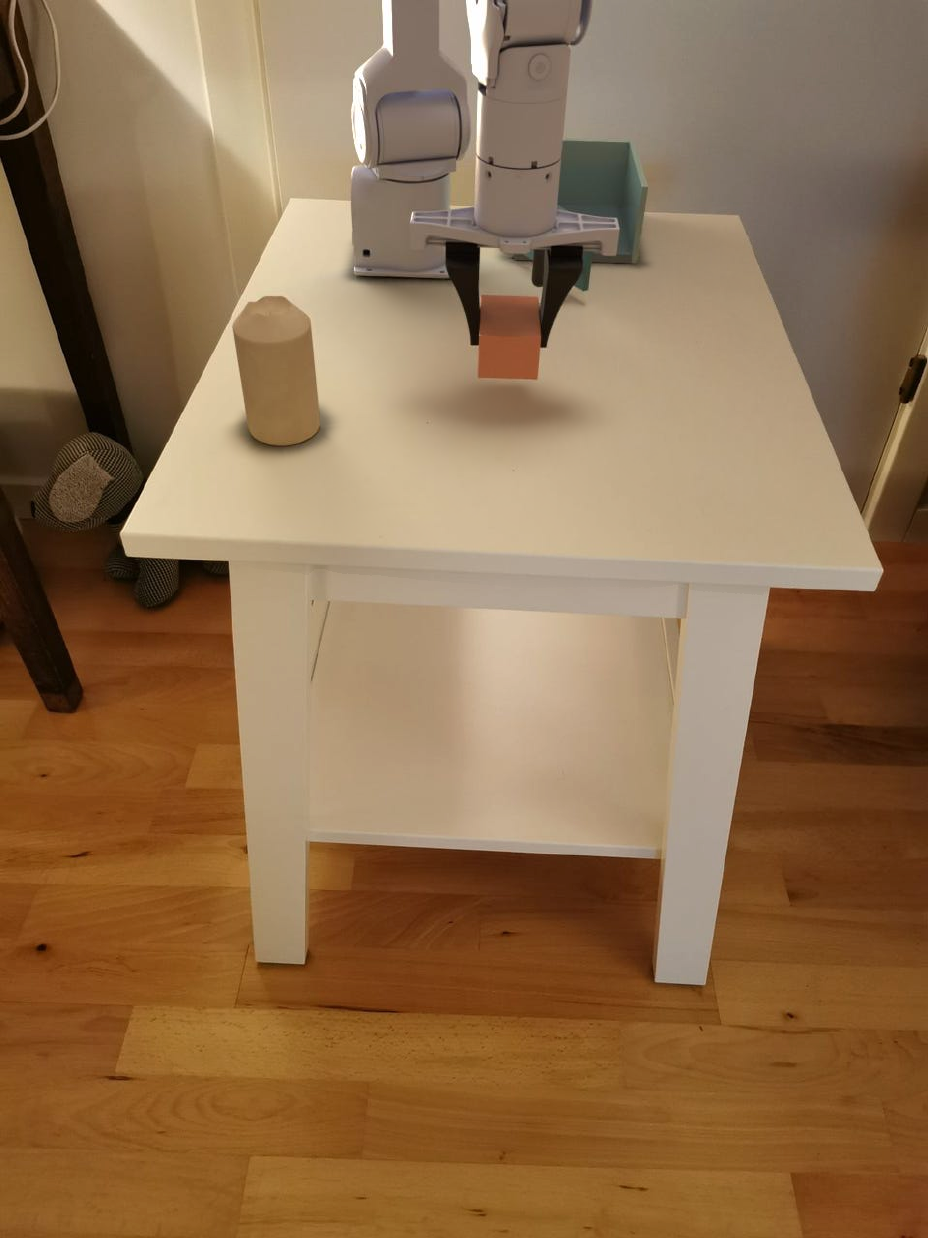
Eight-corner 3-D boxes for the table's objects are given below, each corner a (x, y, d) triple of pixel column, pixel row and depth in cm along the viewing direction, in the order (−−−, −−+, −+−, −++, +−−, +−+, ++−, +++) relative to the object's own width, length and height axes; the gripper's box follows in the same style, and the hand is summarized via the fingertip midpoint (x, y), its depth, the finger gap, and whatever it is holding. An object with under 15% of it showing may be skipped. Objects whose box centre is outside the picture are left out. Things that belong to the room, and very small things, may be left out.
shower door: (475, 261, 94) (477, 193, 89) (521, 248, 96) (525, 182, 91) (541, 304, 87) (546, 234, 83) (588, 290, 90) (596, 220, 85)
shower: (507, 259, 97) (511, 182, 92) (507, 209, 106) (510, 136, 101) (636, 263, 97) (648, 186, 92) (625, 212, 106) (634, 139, 101)
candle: (307, 450, 73) (294, 327, 66) (237, 441, 73) (217, 317, 66) (329, 411, 76) (319, 290, 69) (263, 403, 77) (245, 282, 70)
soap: (477, 378, 73) (479, 335, 71) (479, 335, 78) (480, 294, 75) (537, 380, 73) (541, 337, 70) (535, 337, 78) (538, 296, 75)
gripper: (406, 172, 62) (409, 363, 71) (633, 179, 62) (606, 370, 71) (413, 134, 67) (415, 317, 76) (623, 141, 67) (599, 323, 76)
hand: (507, 340), depth 74 cm, fingers closed on soap, 4 cm apart
